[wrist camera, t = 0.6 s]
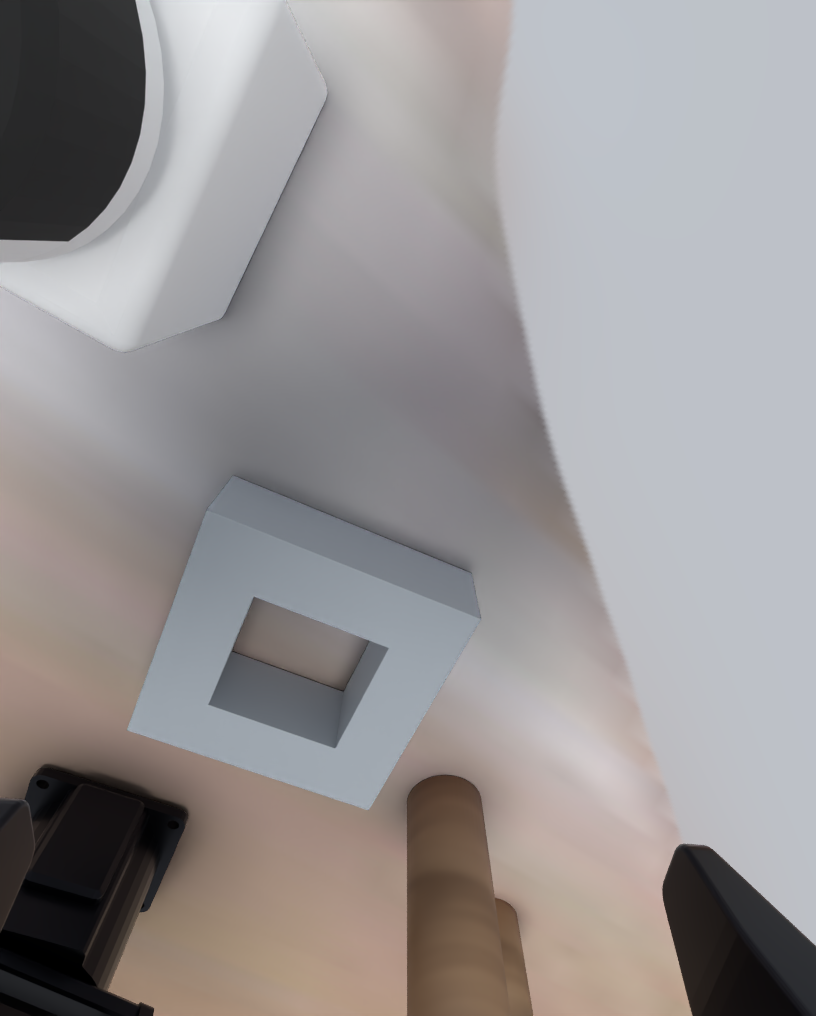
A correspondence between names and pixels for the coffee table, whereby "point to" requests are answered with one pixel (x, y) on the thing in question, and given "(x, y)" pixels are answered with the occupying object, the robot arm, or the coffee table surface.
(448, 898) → the long dowel
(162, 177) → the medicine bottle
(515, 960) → the short stub
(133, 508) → the coffee table surface
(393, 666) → the collar block
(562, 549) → the coffee table surface
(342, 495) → the coffee table surface
